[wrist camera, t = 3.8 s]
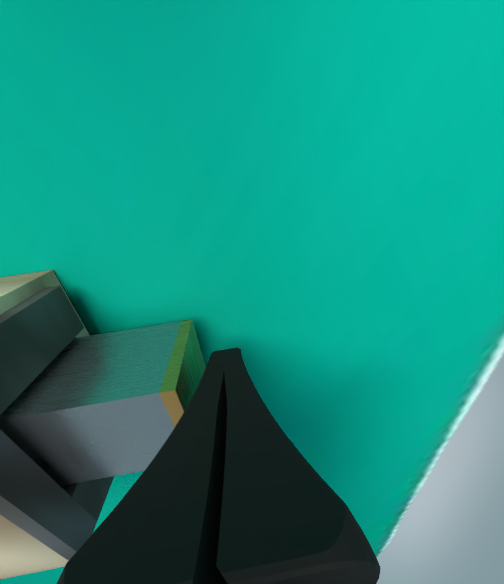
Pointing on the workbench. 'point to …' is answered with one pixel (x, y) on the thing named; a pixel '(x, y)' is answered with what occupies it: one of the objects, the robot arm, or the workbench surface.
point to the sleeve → (15, 462)
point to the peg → (107, 402)
